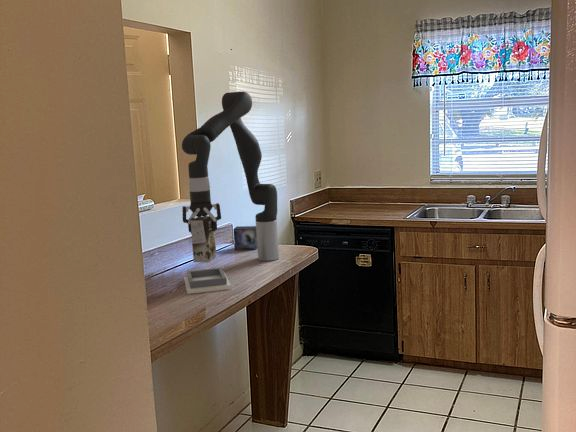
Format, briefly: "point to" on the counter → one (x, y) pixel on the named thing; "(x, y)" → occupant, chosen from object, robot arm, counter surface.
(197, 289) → the socket stand
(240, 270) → the counter surface
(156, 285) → the counter surface
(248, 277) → the counter surface
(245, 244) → the small box
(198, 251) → the coffee box
